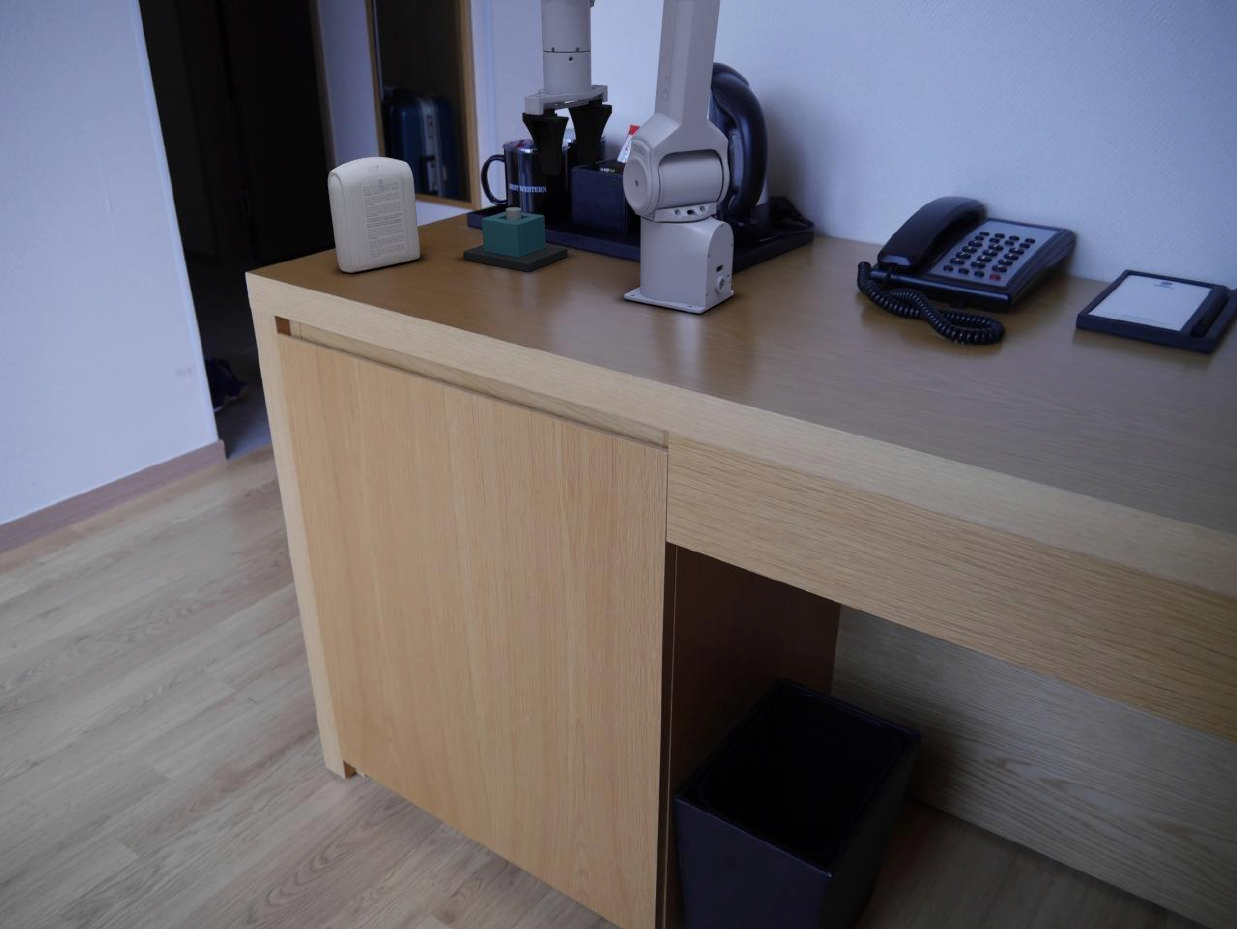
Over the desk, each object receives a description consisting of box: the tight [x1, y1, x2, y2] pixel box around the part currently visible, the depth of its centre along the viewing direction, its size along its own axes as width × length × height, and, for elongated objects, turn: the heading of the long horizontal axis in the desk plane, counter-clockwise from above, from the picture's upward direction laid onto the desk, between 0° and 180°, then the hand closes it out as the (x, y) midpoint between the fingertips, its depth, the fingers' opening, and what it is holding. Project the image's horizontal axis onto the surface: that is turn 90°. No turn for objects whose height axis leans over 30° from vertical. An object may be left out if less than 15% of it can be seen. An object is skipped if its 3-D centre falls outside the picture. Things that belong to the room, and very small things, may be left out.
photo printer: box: [327, 156, 421, 274], centre depth 113 cm, size 10×4×12 cm, turn 134°
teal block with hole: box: [481, 211, 546, 258], centre depth 117 cm, size 5×5×4 cm
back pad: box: [462, 206, 569, 273], centre depth 117 cm, size 10×8×6 cm
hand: (569, 169), depth 119 cm, fingers open, 7 cm apart
